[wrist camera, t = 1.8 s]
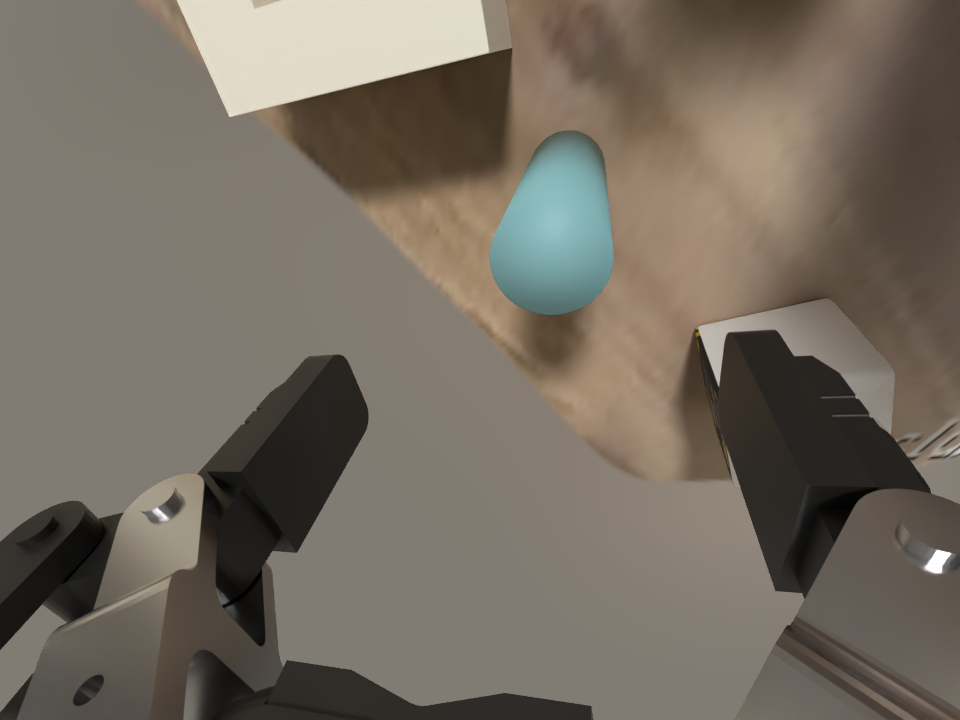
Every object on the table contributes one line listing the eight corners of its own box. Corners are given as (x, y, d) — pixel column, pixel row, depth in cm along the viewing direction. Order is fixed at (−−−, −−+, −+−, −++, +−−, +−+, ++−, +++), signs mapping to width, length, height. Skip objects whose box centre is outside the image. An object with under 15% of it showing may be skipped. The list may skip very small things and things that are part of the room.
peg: (603, 123, 23) (610, 189, 13) (606, 203, 25) (615, 310, 15) (524, 138, 24) (479, 209, 14) (534, 213, 26) (501, 319, 16)
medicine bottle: (693, 324, 28) (745, 475, 18) (830, 294, 25) (974, 452, 16) (709, 409, 31) (759, 573, 22) (832, 390, 29) (950, 568, 19)
